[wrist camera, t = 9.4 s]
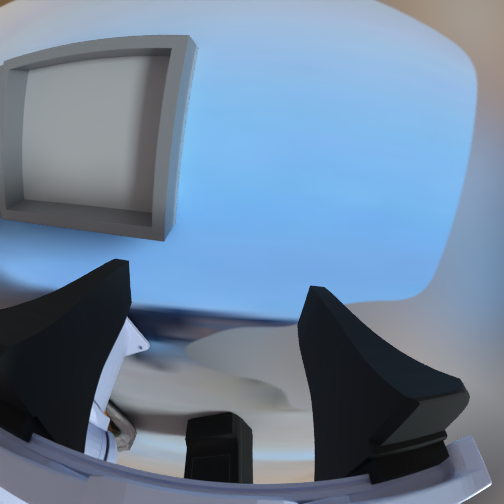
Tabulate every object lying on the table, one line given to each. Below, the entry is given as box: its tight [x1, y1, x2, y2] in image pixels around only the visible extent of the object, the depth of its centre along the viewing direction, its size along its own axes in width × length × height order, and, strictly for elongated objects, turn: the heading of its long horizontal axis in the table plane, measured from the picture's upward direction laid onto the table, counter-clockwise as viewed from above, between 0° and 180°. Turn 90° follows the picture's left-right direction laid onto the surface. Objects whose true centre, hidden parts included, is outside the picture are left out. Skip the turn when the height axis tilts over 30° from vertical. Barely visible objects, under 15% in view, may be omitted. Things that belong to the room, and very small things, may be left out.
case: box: [0, 35, 198, 241], centre depth 15 cm, size 14×12×3 cm
